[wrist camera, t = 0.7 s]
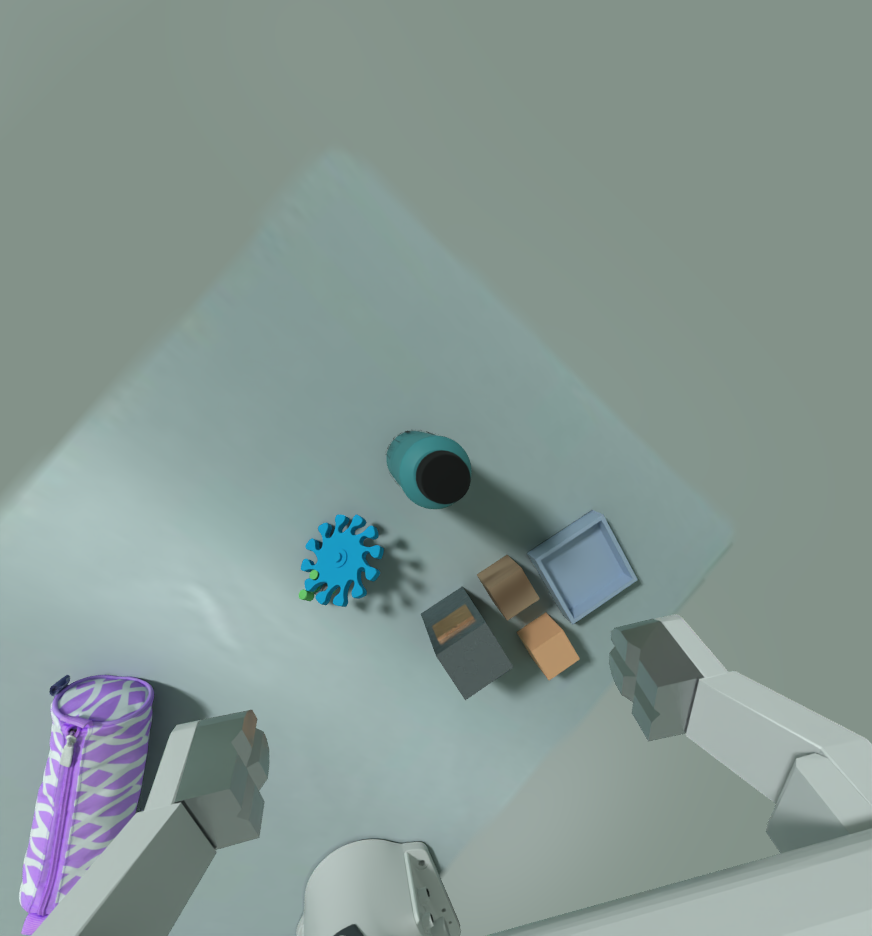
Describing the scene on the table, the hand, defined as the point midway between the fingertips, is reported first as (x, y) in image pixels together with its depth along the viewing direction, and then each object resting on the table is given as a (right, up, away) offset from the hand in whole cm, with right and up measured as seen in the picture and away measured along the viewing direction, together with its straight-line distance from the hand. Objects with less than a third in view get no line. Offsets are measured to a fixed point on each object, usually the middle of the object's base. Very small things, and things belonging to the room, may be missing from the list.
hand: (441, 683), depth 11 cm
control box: (+2, -14, +48) cm, 50 cm away
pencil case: (-36, -27, +42) cm, 62 cm away
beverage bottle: (-3, +6, +44) cm, 45 cm away
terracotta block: (+13, -17, +50) cm, 54 cm away
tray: (+18, -7, +50) cm, 53 cm away
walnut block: (+8, -9, +48) cm, 50 cm away
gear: (-11, -5, +44) cm, 46 cm away
